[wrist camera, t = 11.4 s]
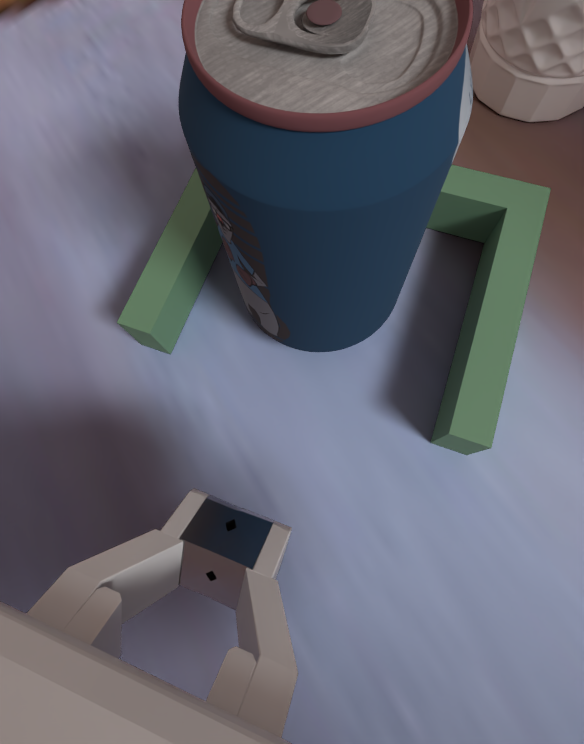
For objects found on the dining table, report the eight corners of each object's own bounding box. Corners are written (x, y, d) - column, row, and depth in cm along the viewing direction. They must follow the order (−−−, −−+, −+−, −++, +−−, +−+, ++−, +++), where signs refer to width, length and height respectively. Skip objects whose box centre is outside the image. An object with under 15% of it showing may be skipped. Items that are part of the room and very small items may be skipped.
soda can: (411, 250, 20) (539, -83, 9) (369, 382, 18) (459, 186, 7) (275, 213, 21) (228, -129, 10) (223, 335, 19) (88, 94, 8)
